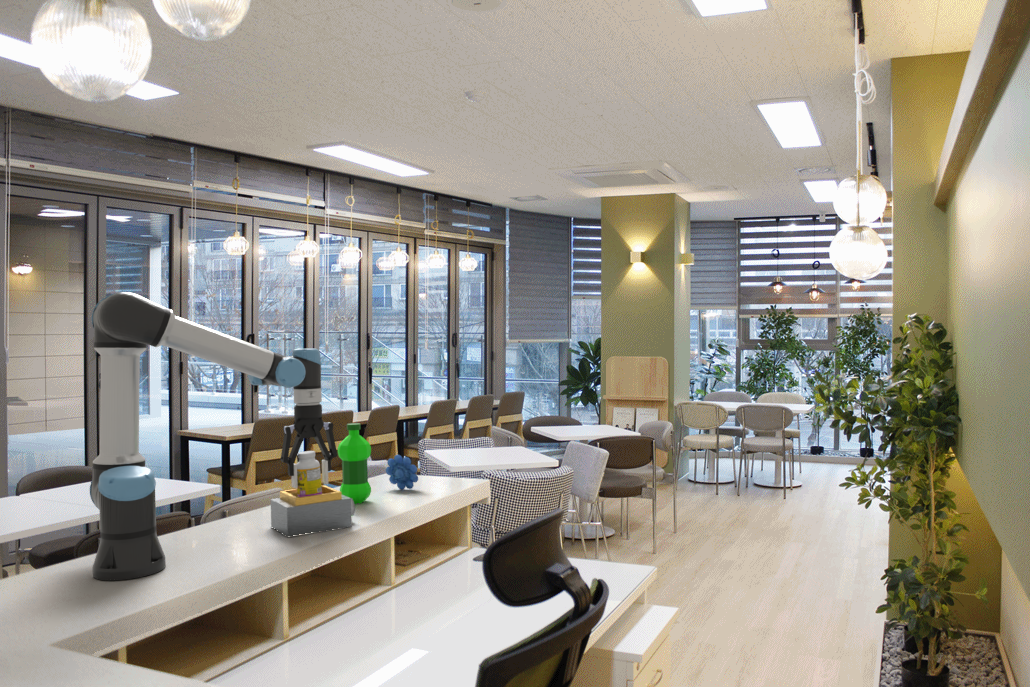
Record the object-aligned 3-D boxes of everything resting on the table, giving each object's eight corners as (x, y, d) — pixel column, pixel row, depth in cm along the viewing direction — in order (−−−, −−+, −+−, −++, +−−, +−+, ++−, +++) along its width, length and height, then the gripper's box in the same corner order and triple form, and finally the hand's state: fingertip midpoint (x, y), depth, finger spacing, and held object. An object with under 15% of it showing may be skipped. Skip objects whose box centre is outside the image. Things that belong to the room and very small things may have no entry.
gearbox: (287, 537, 210) (286, 500, 210) (271, 527, 222) (270, 492, 222) (361, 525, 222) (360, 489, 222) (342, 516, 234) (341, 482, 234)
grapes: (381, 491, 269) (380, 456, 269) (388, 487, 276) (387, 453, 275) (414, 492, 267) (413, 456, 266) (420, 488, 273) (419, 453, 273)
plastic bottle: (357, 506, 246) (355, 426, 246) (332, 503, 252) (330, 425, 251) (378, 500, 255) (376, 422, 254) (354, 497, 260) (352, 421, 260)
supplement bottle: (294, 498, 222) (290, 452, 222) (317, 494, 226) (314, 449, 225) (302, 502, 216) (298, 455, 216) (325, 497, 220) (322, 451, 220)
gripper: (274, 407, 212) (277, 492, 212) (348, 402, 223) (350, 482, 224) (266, 405, 218) (268, 488, 218) (338, 400, 230) (340, 478, 230)
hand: (310, 485), depth 221 cm, fingers open, 8 cm apart
